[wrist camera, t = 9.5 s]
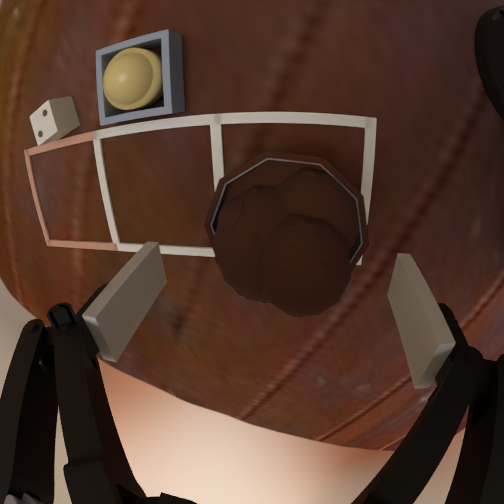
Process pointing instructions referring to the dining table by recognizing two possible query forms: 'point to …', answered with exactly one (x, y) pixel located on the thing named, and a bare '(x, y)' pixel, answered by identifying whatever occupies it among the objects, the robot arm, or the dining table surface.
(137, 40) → the base
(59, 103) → the die
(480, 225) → the dining table surface
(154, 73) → the dome
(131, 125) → the track
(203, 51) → the dining table surface
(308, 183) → the ice cream bowl
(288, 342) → the dining table surface
